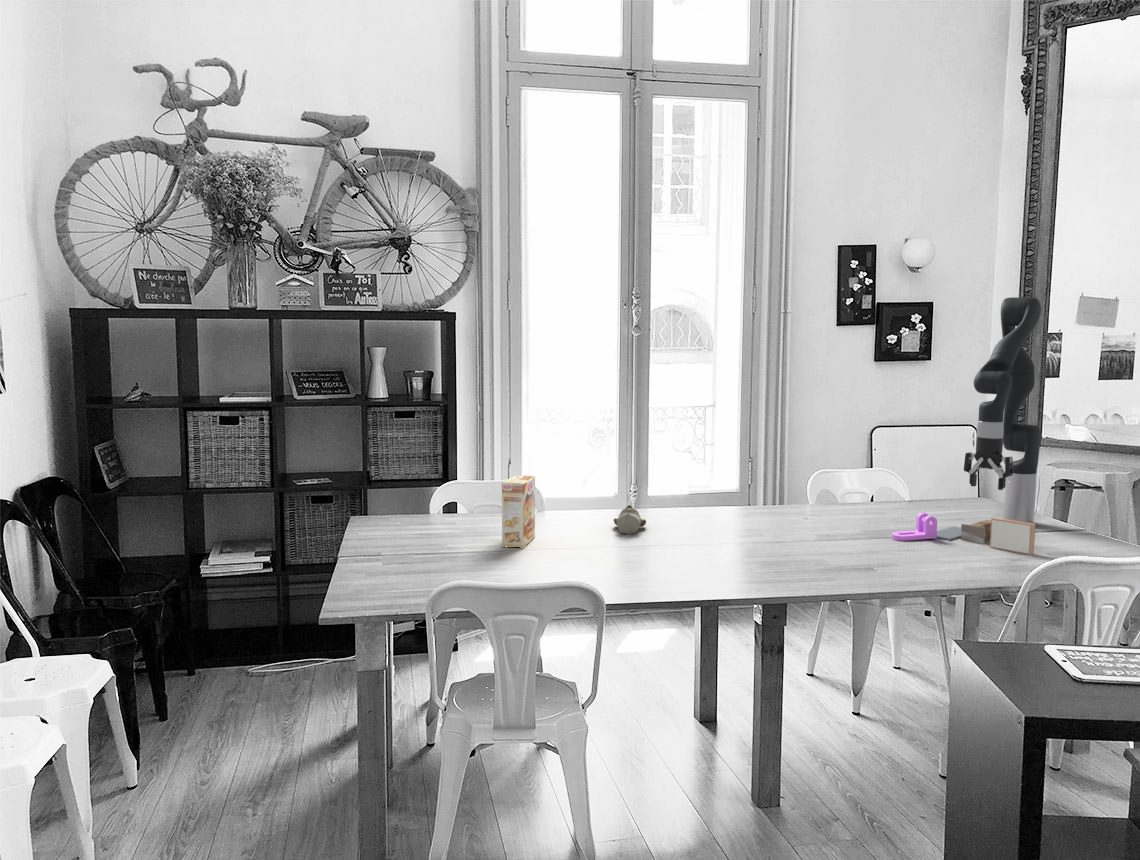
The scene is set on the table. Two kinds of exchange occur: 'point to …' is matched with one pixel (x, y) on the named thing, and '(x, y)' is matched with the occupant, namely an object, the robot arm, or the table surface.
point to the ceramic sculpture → (629, 521)
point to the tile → (1012, 535)
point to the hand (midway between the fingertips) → (986, 487)
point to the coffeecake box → (518, 511)
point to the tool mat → (949, 533)
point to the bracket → (919, 529)
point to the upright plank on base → (976, 531)
